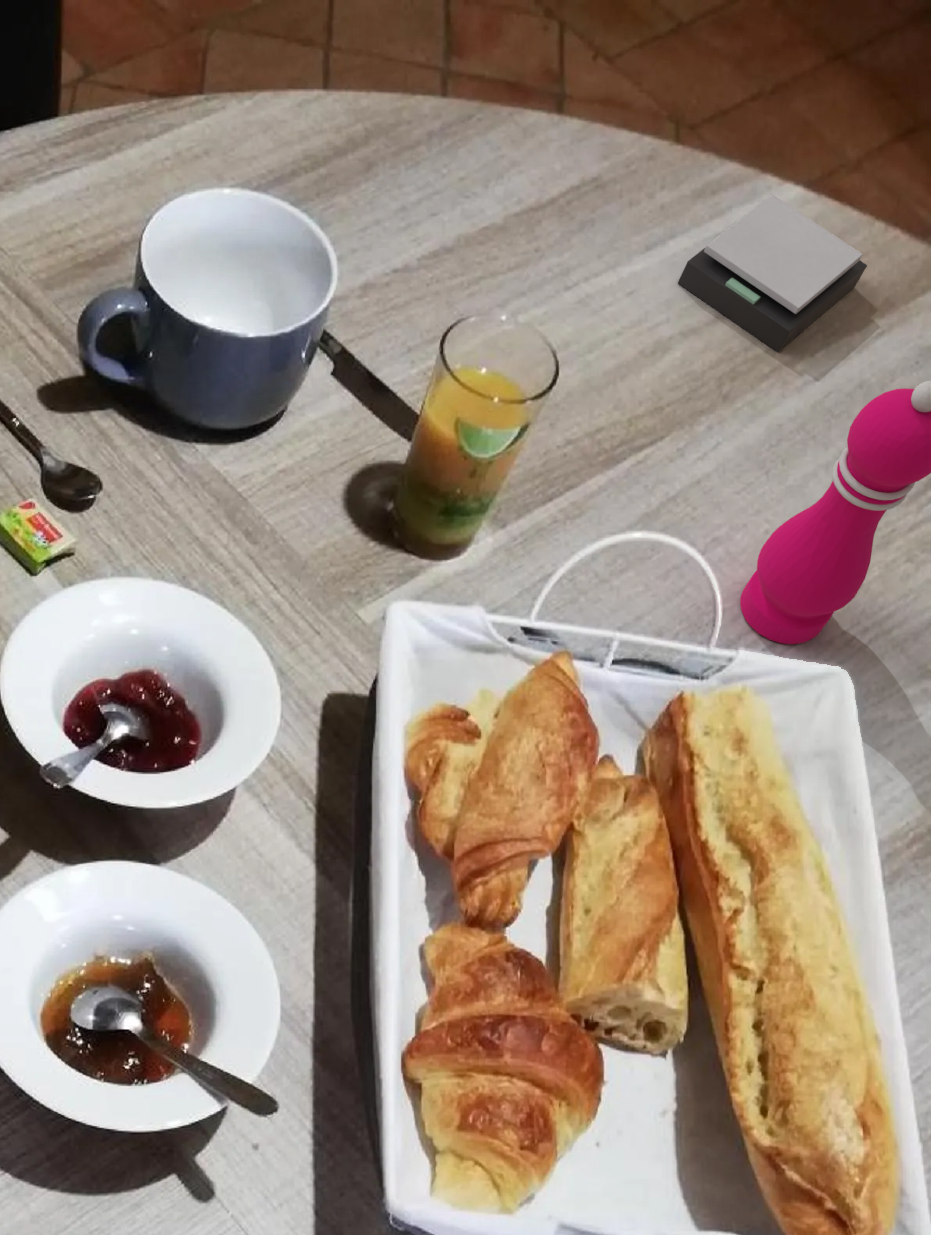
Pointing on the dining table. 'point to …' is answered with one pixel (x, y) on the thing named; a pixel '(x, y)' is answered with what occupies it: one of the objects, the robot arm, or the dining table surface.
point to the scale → (773, 272)
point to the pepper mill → (841, 521)
